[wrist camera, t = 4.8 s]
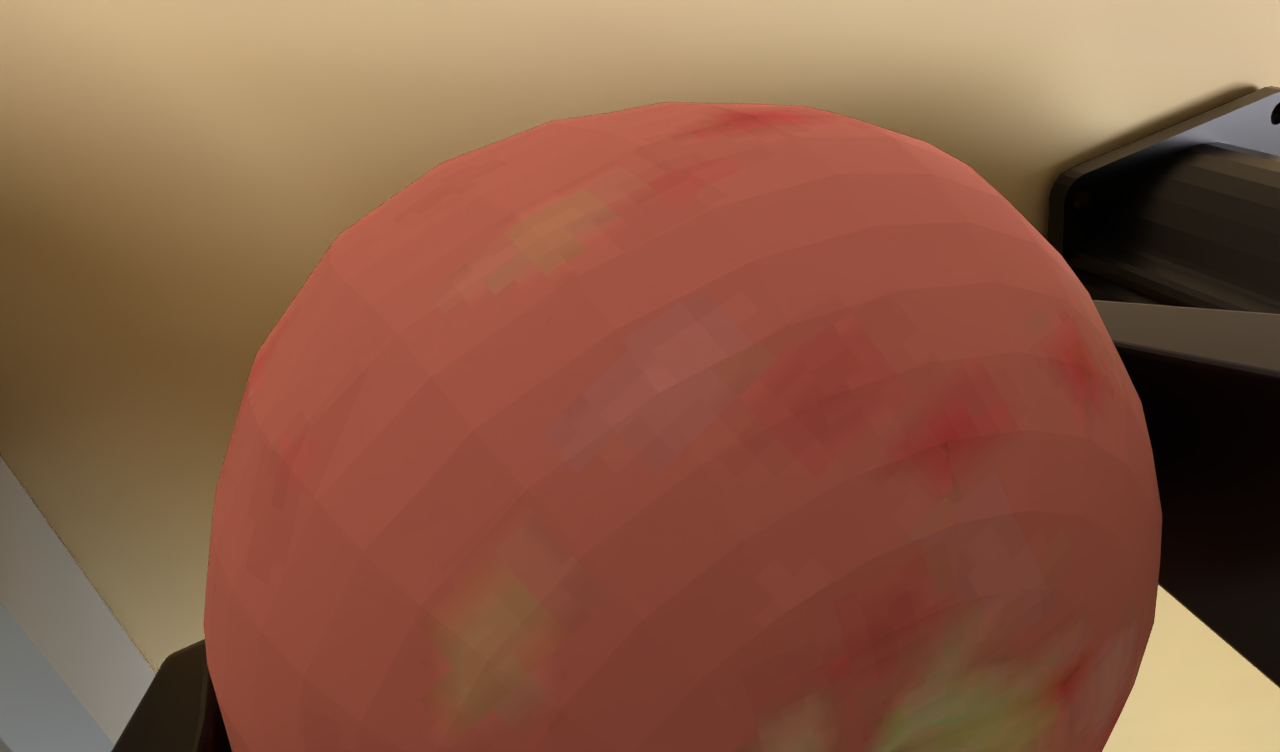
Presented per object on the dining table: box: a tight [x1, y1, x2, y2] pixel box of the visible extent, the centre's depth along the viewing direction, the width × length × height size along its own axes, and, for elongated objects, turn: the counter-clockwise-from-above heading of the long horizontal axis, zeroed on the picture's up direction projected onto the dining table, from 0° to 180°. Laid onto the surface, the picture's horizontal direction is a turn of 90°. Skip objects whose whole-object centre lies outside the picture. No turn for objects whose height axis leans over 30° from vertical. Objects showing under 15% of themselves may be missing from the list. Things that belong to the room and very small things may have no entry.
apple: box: [204, 102, 1162, 752], centre depth 8 cm, size 7×7×8 cm
